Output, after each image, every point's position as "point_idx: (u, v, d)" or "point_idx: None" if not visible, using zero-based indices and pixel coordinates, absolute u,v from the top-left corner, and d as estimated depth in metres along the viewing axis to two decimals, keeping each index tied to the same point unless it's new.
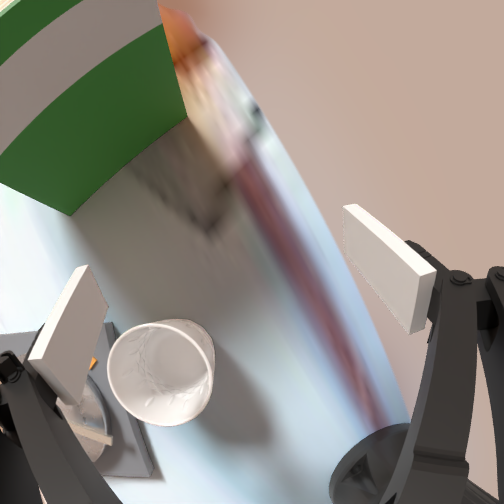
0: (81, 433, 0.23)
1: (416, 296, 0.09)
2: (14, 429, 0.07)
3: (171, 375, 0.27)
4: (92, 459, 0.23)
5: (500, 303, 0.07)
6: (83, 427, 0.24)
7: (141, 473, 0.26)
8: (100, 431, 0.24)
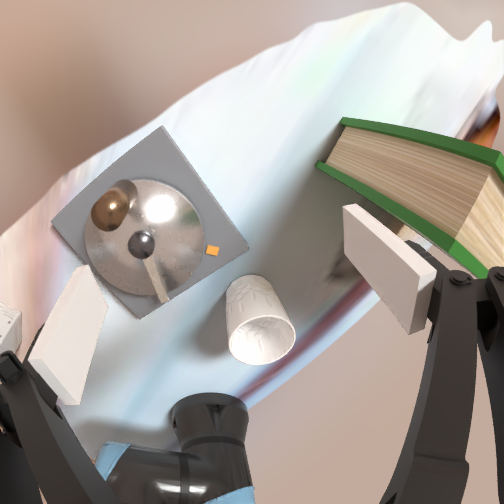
0: (153, 280, 0.35)
1: (416, 296, 0.09)
2: (14, 429, 0.07)
3: None
4: (131, 290, 0.35)
5: (500, 303, 0.07)
6: (159, 279, 0.35)
7: (138, 313, 0.40)
8: (165, 290, 0.36)
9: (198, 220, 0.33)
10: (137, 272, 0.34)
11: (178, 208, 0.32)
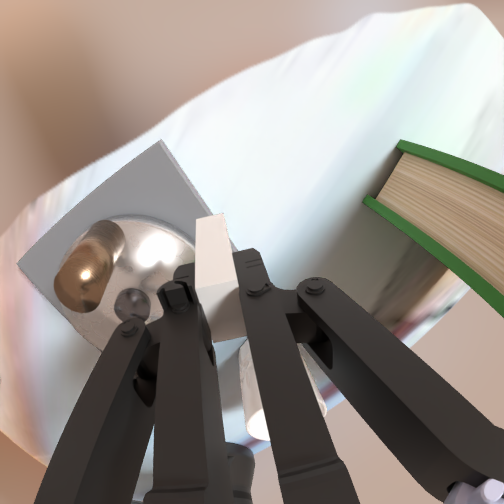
0: None
1: (221, 303, 0.11)
2: None
3: None
4: None
5: (323, 321, 0.08)
6: None
7: None
8: None
9: None
10: None
11: (183, 262, 0.23)
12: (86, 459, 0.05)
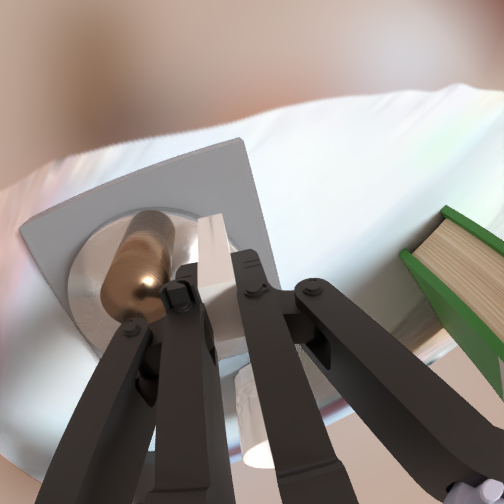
0: None
1: (219, 303, 0.11)
2: None
3: None
4: None
5: (320, 322, 0.08)
6: None
7: None
8: None
9: None
10: None
11: None
12: (88, 459, 0.05)
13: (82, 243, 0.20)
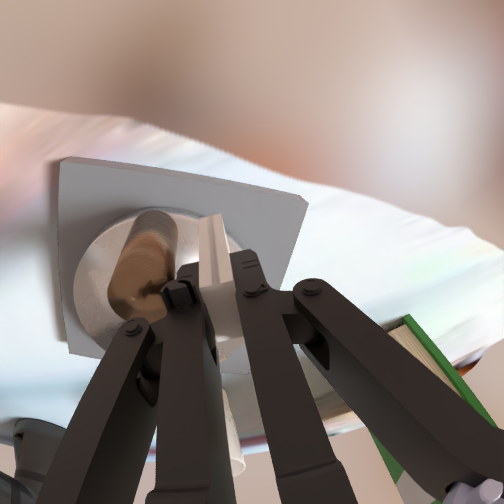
0: None
1: (218, 303, 0.11)
2: None
3: None
4: None
5: (319, 322, 0.08)
6: None
7: (72, 347, 0.24)
8: None
9: None
10: None
11: None
12: (89, 459, 0.05)
13: (119, 213, 0.20)
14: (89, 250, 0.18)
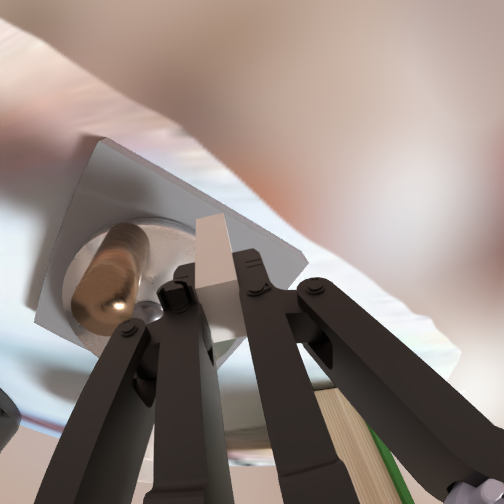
0: None
1: (221, 303, 0.11)
2: None
3: None
4: None
5: (323, 321, 0.08)
6: None
7: (39, 318, 0.23)
8: None
9: None
10: None
11: None
12: (86, 459, 0.05)
13: (137, 213, 0.20)
14: (71, 266, 0.19)
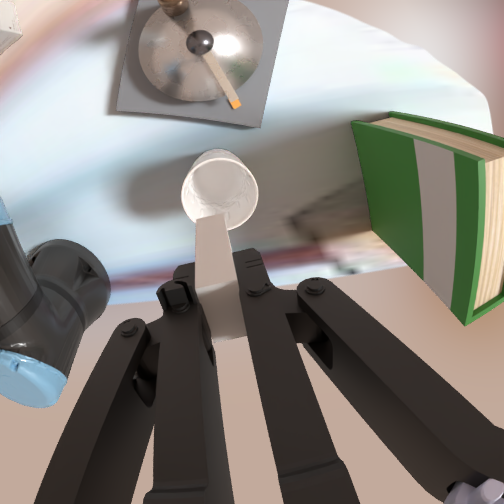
0: (217, 76, 0.30)
1: (221, 303, 0.11)
2: None
3: (203, 165, 0.37)
4: (195, 98, 0.31)
5: (323, 321, 0.08)
6: (224, 74, 0.30)
7: (120, 104, 0.32)
8: (233, 87, 0.31)
9: (251, 13, 0.27)
10: (199, 75, 0.30)
11: (230, 6, 0.26)
12: (86, 459, 0.05)
13: None
14: (143, 31, 0.26)
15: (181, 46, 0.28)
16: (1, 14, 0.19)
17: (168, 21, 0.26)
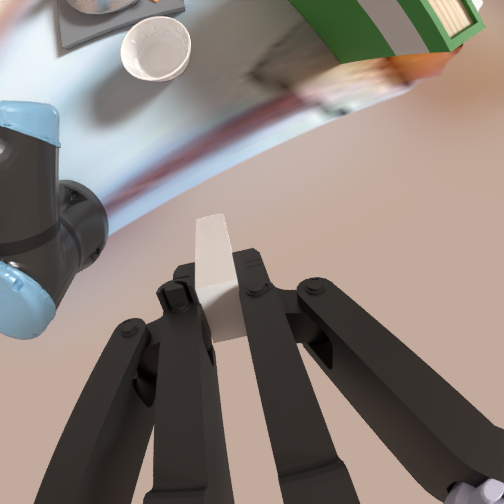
0: None
1: (221, 303, 0.11)
2: None
3: (148, 53, 0.33)
4: (118, 4, 0.27)
5: (323, 321, 0.08)
6: None
7: (64, 41, 0.29)
8: None
9: None
10: None
11: None
12: (86, 459, 0.05)
13: None
14: None
15: None
16: None
17: None
